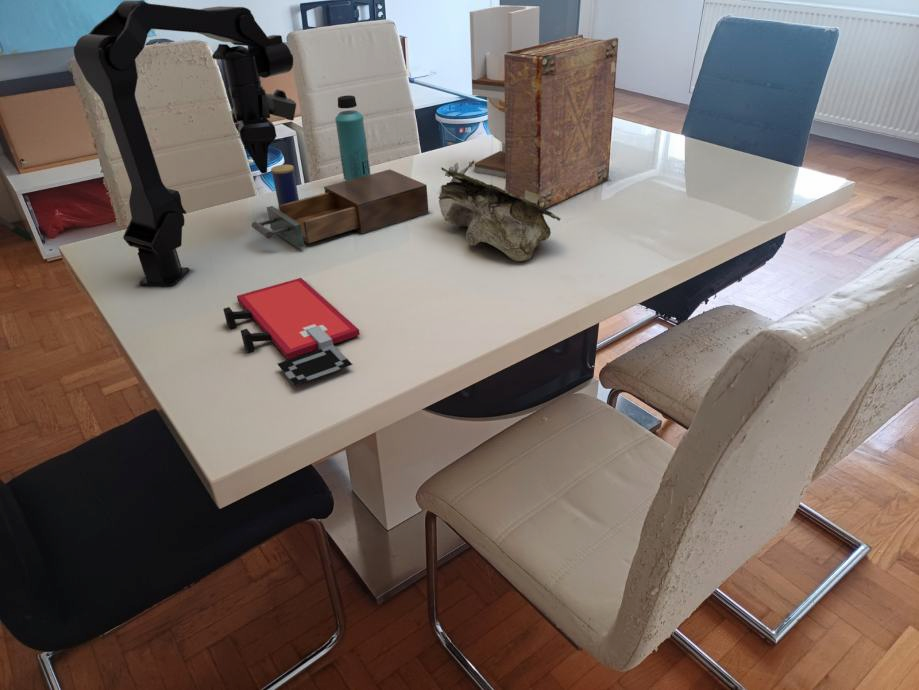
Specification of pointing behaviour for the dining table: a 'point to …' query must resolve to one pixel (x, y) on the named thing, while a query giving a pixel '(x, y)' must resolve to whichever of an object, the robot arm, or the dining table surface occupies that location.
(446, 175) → the dry twiggy plant
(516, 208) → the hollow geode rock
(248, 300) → the red board with handle
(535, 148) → the book
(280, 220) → the drawer
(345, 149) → the beverage bottle
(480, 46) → the display case
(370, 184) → the cabinet
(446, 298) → the dining table surface
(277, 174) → the tin
